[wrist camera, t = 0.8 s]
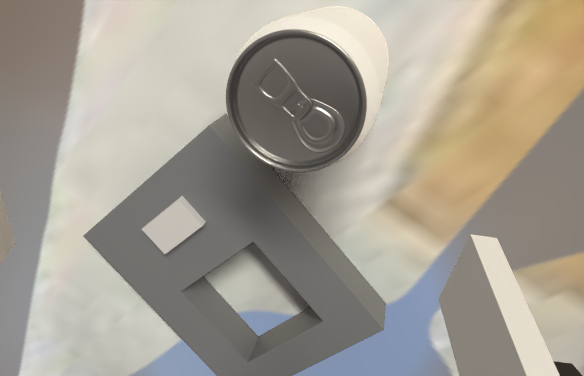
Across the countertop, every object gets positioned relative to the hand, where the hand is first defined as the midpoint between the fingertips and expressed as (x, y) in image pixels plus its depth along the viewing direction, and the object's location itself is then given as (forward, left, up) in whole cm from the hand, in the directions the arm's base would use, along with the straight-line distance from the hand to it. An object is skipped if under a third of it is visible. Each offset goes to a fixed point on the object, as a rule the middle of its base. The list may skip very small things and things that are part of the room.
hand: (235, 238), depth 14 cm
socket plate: (-5, +13, -18) cm, 23 cm away
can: (+2, -2, -19) cm, 19 cm away
